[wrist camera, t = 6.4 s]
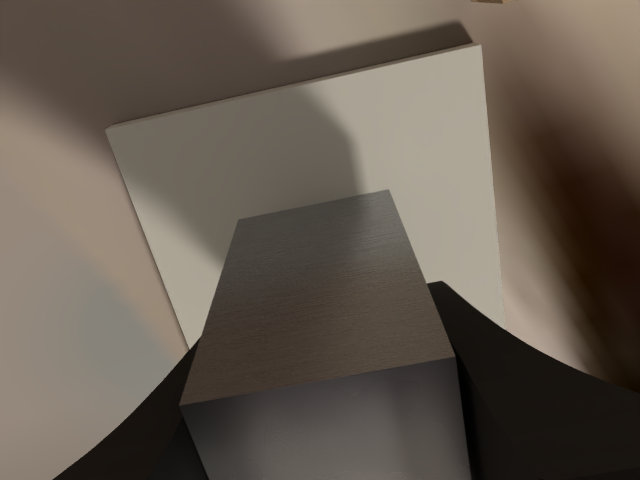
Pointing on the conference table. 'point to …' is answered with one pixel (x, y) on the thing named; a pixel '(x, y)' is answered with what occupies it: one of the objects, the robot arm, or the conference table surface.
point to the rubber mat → (322, 171)
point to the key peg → (325, 354)
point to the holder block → (493, 1)
